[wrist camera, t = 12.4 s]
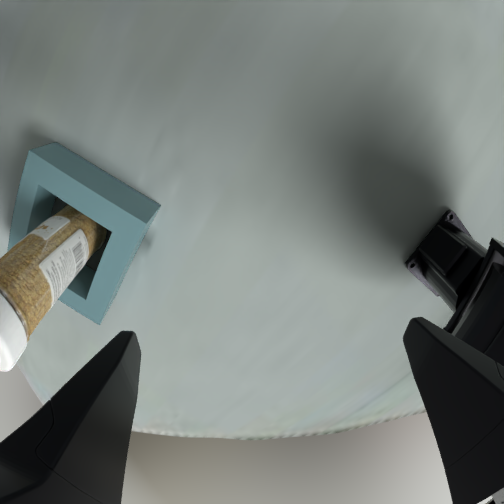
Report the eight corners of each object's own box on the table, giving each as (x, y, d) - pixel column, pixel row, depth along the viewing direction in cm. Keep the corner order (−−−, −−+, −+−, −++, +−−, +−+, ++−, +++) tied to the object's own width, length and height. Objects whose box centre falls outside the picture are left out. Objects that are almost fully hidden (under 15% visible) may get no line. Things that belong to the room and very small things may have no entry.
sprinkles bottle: (71, 188, 19) (-57, 281, 7) (117, 217, 20) (9, 342, 8) (56, 234, 20) (-46, 338, 8) (97, 262, 21) (12, 387, 9)
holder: (161, 205, 20) (146, 223, 16) (113, 299, 23) (99, 325, 20) (56, 142, 17) (29, 150, 14) (27, 243, 20) (6, 261, 17)
